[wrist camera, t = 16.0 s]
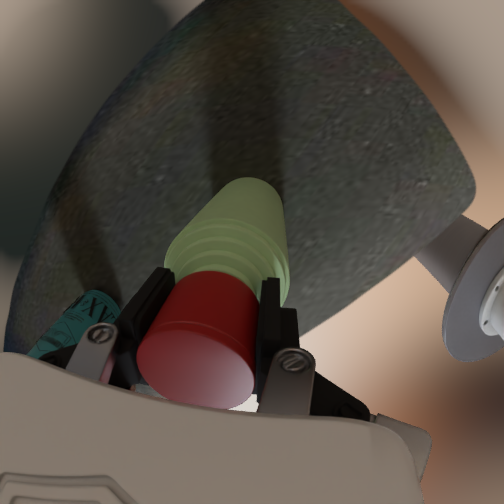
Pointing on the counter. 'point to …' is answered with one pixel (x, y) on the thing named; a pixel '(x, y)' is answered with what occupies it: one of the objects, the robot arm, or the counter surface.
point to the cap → (203, 342)
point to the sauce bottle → (236, 237)
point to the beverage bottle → (77, 322)
